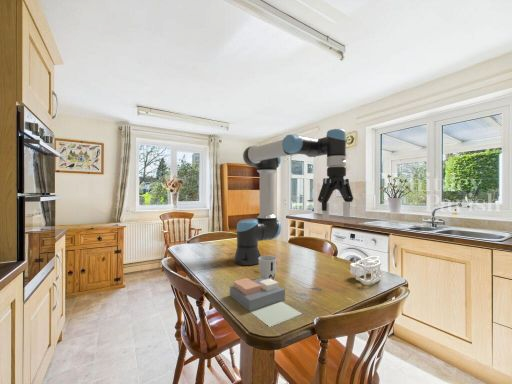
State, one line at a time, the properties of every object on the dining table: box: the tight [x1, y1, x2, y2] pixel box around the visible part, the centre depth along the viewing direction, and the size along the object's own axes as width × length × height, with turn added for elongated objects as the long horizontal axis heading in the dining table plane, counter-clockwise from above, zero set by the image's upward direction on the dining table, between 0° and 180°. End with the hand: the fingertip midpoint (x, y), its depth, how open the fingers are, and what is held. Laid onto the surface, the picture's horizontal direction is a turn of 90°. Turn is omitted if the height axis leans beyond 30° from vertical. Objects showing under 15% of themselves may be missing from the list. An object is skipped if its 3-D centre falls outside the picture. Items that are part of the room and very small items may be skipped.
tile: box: [233, 277, 260, 295], centre depth 86 cm, size 9×6×2 cm, turn 34°
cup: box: [258, 255, 277, 281], centre depth 104 cm, size 8×8×10 cm
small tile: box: [259, 278, 279, 291], centre depth 87 cm, size 5×5×2 cm
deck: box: [229, 277, 286, 313], centre depth 87 cm, size 14×15×4 cm
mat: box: [250, 301, 303, 328], centre depth 76 cm, size 10×13×1 cm
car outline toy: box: [349, 255, 382, 285], centre depth 110 cm, size 20×11×7 cm, turn 128°
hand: (336, 217), depth 98 cm, fingers open, 13 cm apart
